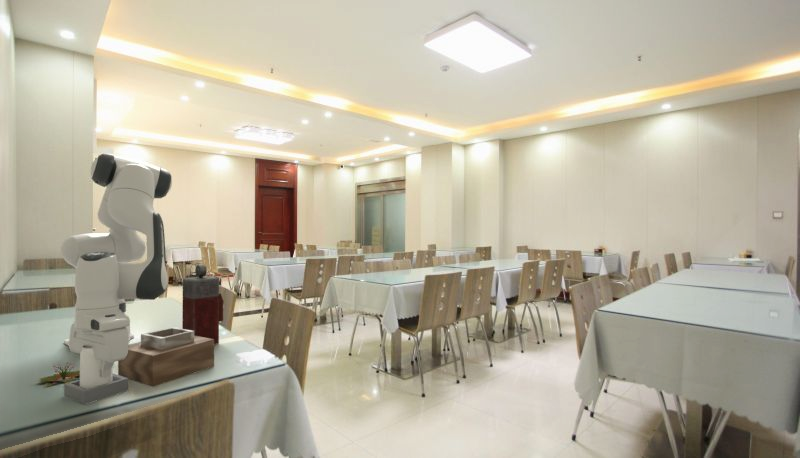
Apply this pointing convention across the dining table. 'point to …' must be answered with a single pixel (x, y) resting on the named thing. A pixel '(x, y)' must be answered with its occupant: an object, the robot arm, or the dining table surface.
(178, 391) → the dining table surface
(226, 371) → the dining table surface
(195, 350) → the socket pedestal
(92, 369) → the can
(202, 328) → the red mill shaker
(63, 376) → the leafy plant
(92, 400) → the collar
